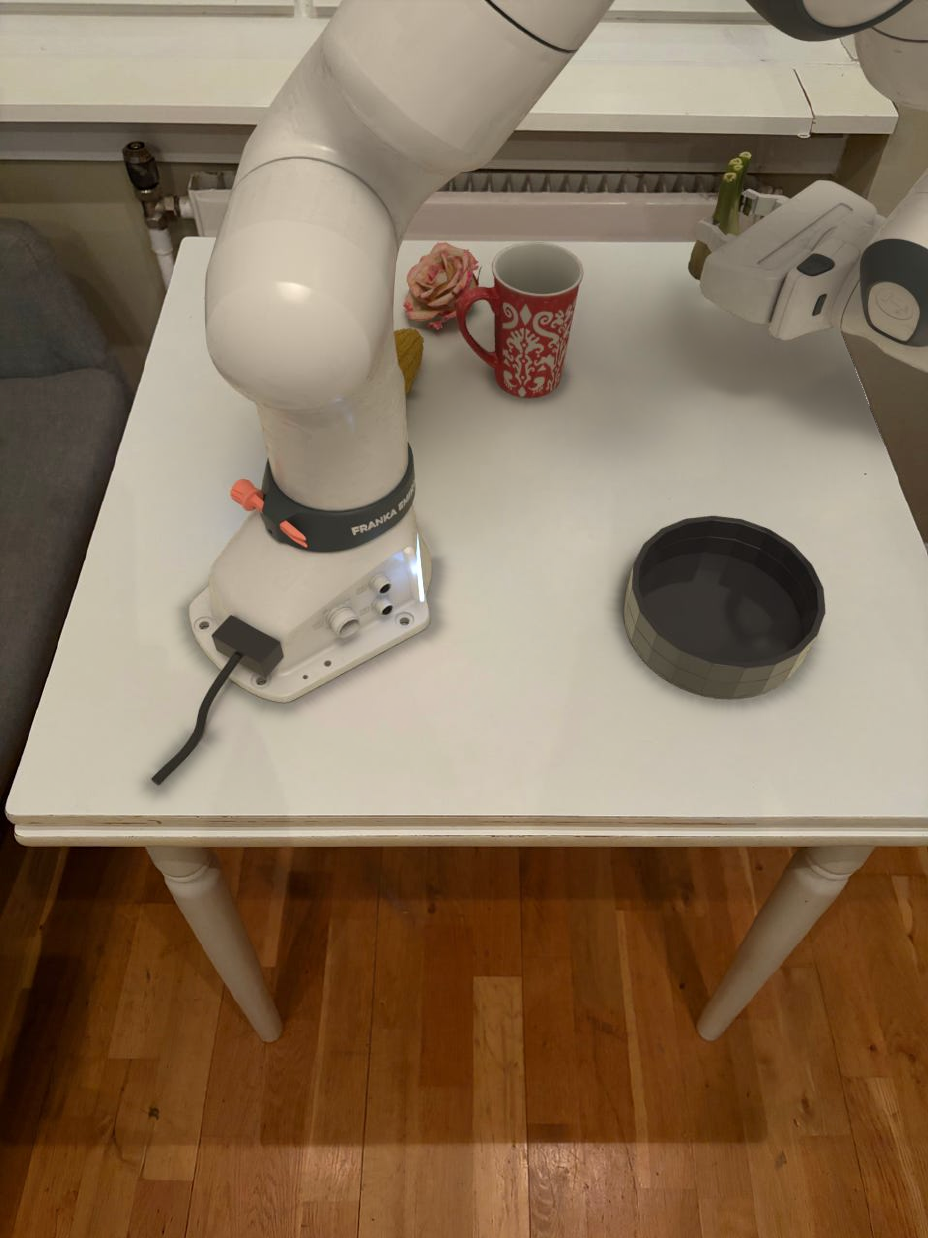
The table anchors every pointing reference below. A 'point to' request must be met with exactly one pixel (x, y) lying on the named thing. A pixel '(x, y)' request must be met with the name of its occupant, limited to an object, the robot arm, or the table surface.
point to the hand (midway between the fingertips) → (719, 211)
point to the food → (409, 354)
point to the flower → (440, 283)
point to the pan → (722, 607)
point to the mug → (527, 315)
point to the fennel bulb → (724, 209)
